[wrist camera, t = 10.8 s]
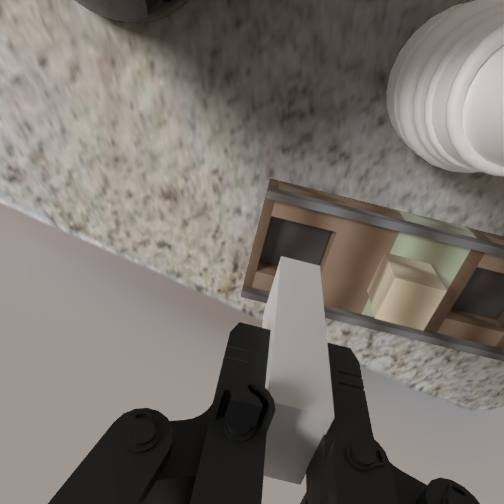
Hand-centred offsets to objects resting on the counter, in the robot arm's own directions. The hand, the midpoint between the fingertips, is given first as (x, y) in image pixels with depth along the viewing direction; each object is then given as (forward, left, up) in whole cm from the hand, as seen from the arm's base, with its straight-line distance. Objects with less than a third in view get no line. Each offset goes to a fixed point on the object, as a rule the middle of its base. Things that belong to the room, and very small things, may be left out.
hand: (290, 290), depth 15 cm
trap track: (+14, -11, -26) cm, 32 cm away
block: (+15, -11, -24) cm, 30 cm away
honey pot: (+13, +8, -27) cm, 31 cm away
